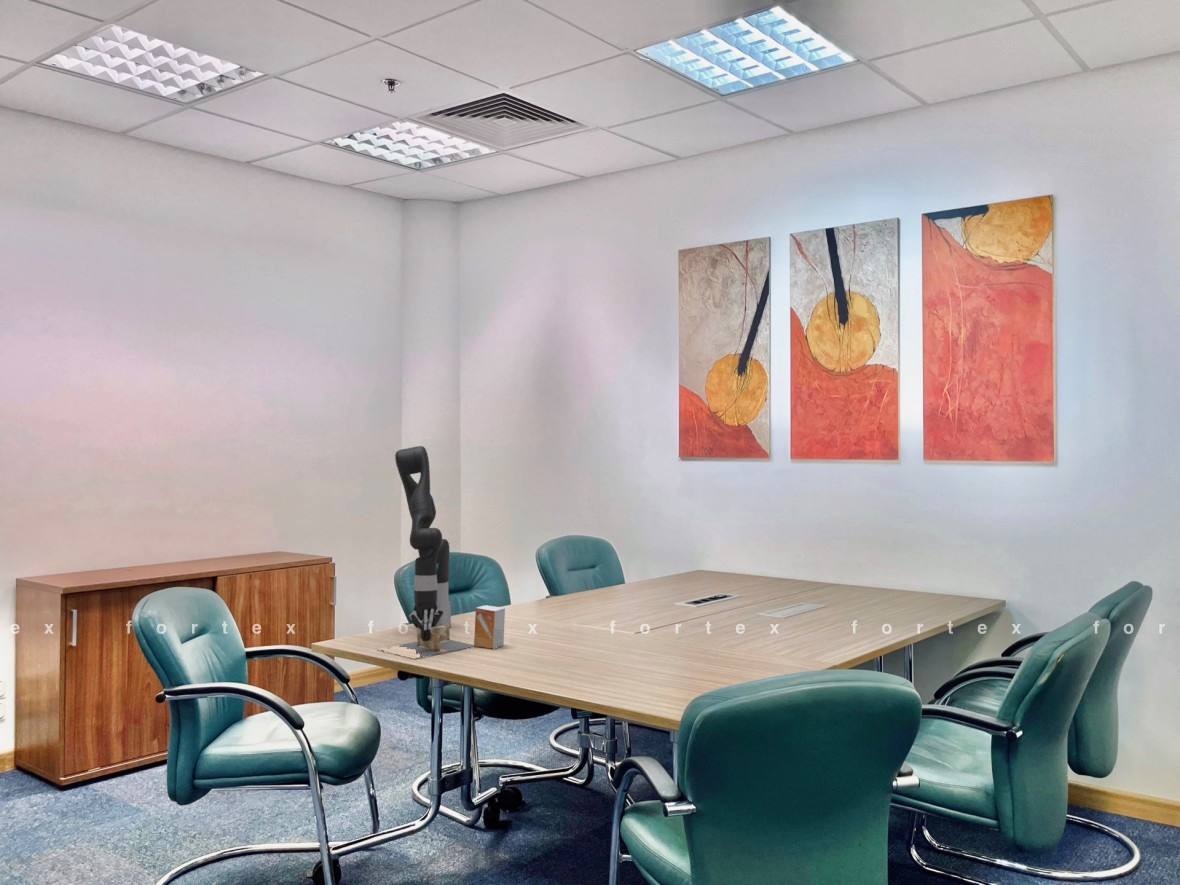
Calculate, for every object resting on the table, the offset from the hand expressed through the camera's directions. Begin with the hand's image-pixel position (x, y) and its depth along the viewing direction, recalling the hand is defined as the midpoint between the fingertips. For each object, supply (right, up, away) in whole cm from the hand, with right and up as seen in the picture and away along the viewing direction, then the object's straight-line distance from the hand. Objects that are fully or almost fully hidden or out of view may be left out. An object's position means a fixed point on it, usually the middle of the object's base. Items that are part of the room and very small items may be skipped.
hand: (425, 640), depth 322 cm
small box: (+20, -4, +8) cm, 22 cm away
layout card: (0, -4, +5) cm, 6 cm away
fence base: (+1, -3, +12) cm, 12 cm away
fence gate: (+1, -3, +3) cm, 4 cm away
